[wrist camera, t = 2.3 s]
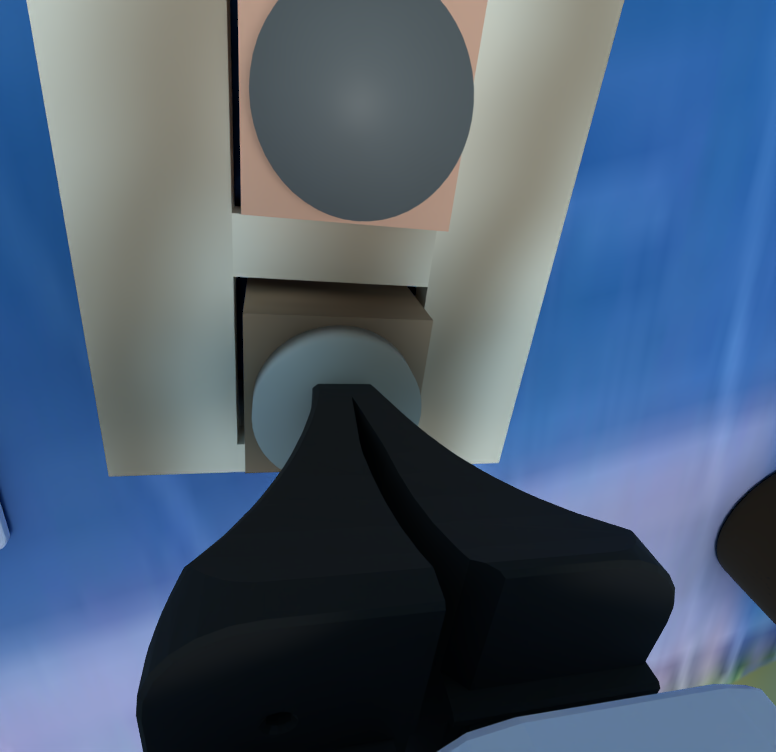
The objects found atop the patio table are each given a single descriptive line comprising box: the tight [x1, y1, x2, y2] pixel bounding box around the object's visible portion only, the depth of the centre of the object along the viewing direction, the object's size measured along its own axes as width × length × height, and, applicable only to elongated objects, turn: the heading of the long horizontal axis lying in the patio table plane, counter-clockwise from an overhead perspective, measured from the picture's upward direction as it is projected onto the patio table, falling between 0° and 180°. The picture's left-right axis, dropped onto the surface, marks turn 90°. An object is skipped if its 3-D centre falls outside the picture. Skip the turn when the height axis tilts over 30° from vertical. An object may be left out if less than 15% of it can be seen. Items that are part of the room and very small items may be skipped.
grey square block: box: [27, 0, 624, 476], centre depth 13 cm, size 12×20×4 cm, turn 173°
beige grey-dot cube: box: [238, 0, 488, 232], centre depth 10 cm, size 4×4×4 cm
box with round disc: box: [243, 277, 433, 473], centre depth 13 cm, size 4×4×4 cm
